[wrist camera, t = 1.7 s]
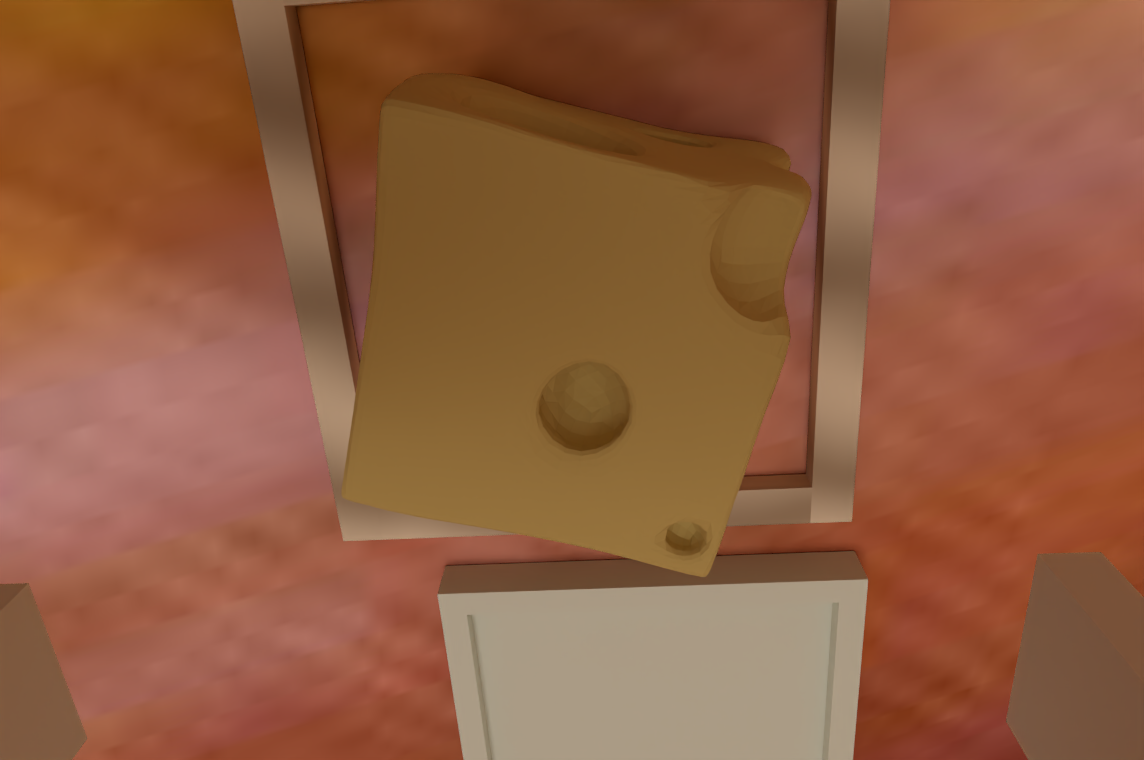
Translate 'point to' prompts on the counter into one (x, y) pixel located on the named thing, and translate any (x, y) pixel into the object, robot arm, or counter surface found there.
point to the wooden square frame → (838, 278)
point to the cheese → (568, 320)
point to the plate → (657, 658)
